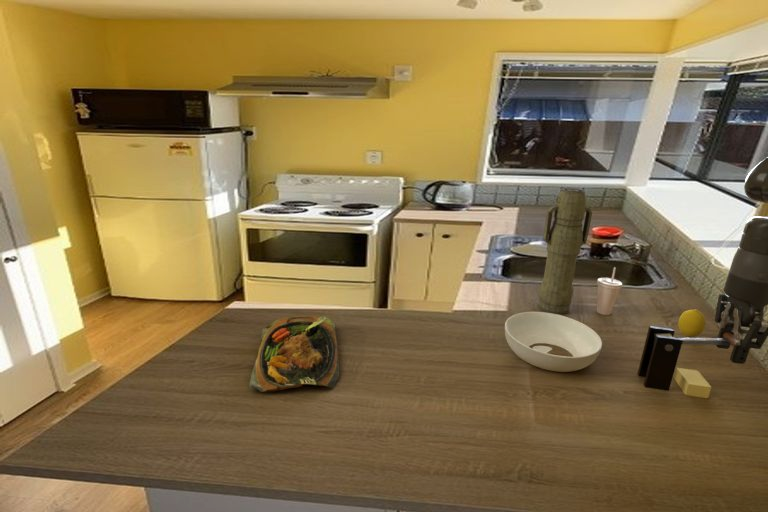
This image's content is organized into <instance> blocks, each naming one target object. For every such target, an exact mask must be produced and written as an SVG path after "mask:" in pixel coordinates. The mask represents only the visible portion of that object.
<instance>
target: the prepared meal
mask: <svg viewBox="0 0 768 512" xmlns="http://www.w3.org/2000/svg"><path fill="white" fill-rule="evenodd" d="M260 336H261V337H260V341H259V346H258V349H257V355H256V358H255V362H254V365H253V368H252V372H251V376H250V379H249V384H248V389H256V390H258V391H259V392H260V393H271V392H272V393H274V392H280V391H283V390H286V389H293V388H300V387H302V386H303V385H313V386H321V387H322V386H323V387H327V388H330V389H333V388H334V386H335V384H336V383H337V381H338V380H339V377H340V361H339V349H338V340H337V331H336V325H335V322H333V321H332V320H331V319H330V318H329V317H328V316H295V317H293V316H291V317H280V318H278V319H276V320H274V321H272V322H270V323H269V324H268V325H267V326H266V327H265V328H264V327H262V331H261V335H260Z"/></svg>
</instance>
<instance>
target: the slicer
mask: <svg viewBox="0 0 768 512" xmlns="http://www.w3.org/2000/svg"><path fill="white" fill-rule="evenodd" d="M675 332H676V331H675V329H674V328H669V327H663V326H662V327H661V326H654V325H649V326H648V330H647V334H646V338H645V342H644V346H643V350H642V354H641V357H640V360H639V361H640V362H639V366H638V370H637V376H638V377H639V378H644V381H643V386H644V388H646V389H647V388H648V389H654V390H660V391H665V392H669V391H670V388H671V384H672V381H673V379H674V375H675V372H676V368H677V363H678V359H679V356H680V352H681V350H682V346H683V344H682V342H683V340H682V339H681V338H682V337H674V335H675ZM654 333H670V334H671V335H672V336H673V337H667V336H660V335H656V338H655V342H654Z"/></svg>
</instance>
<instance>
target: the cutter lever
mask: <svg viewBox="0 0 768 512" xmlns="http://www.w3.org/2000/svg"><path fill="white" fill-rule="evenodd" d="M656 335H660V336H667V337H674V336H672V335H671V334H670V333H654V342H655V338H656ZM680 338H681V339H682V340H683V342H682V345H685V346H686V345H688V346H689V345H690V346H694V345H695V346H698V345H699V346H700V345H701V346H716V345H730V346H732V347H733V348H734V345H735V344H736V336H735V335H732V334H731V333H728V332H727V333H724V334H723V338H717V337H689V338H688V337H680Z"/></svg>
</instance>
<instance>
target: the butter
mask: <svg viewBox="0 0 768 512" xmlns="http://www.w3.org/2000/svg"><path fill="white" fill-rule="evenodd" d="M673 379H674V381H675V383H676V384H677V385H678V387H679V388H680V389H681V391H682V392H683V393H684V395H686V396H691V397H697V398H703V399H709V396H710V393H711V391H712V385H710V384H709V382H708V380H706V378H704V376H703V375H702V374H701V372H700V371H699V370H697V369H690V368H682V367H675V371H674V374H673Z"/></svg>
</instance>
